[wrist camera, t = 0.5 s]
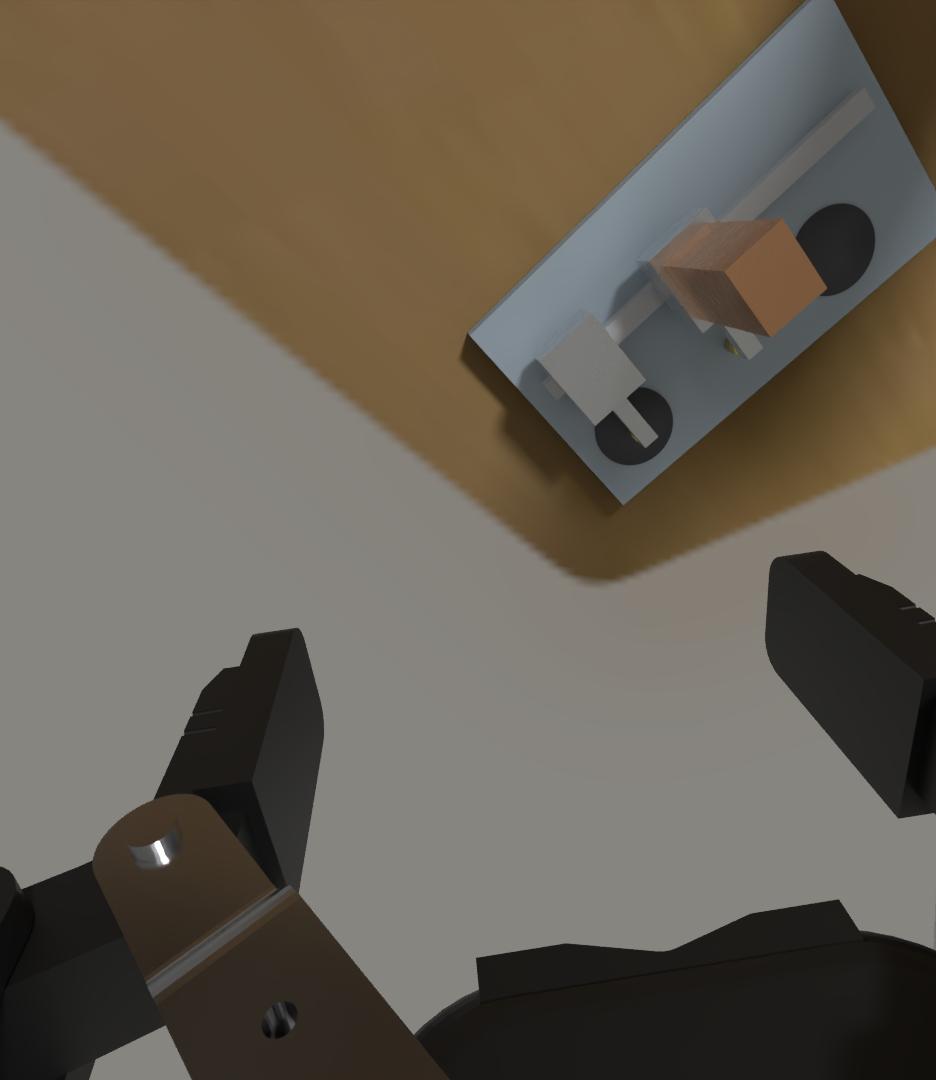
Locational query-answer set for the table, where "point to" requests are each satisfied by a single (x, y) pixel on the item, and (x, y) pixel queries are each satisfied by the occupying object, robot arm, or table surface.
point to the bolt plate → (730, 195)
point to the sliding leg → (731, 276)
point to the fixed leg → (594, 373)
